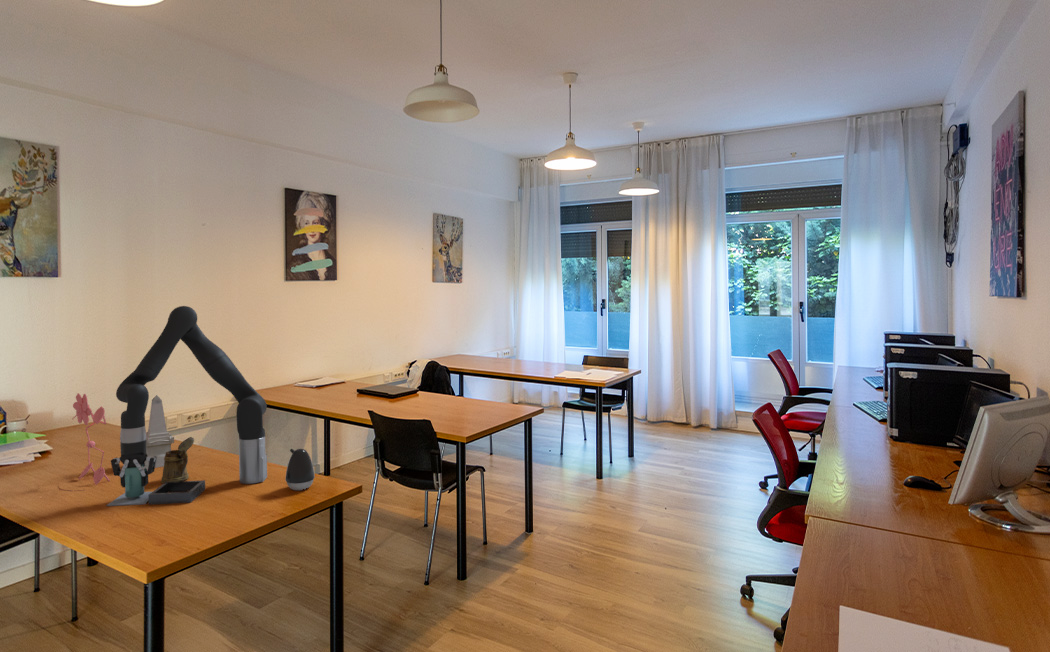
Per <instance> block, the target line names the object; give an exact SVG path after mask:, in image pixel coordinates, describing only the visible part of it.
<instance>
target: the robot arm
mask: <svg viewBox="0 0 1050 652" xmlns="http://www.w3.org/2000/svg"><path fill="white" fill-rule="evenodd" d="M180 340H181V341H182V342H183V343H184V344H185V345H186V347H187V348H188V349H189V350H190V351H191V352H192V355H193V357H195V359H196V360H197V361H198V362H199V364H200V365H201V367H202V368H203V370H205V372H206V373H207V374H208V375H209V376H210V378H211V379H212V380H213V381H215V382H216V383H217V384H219V385H220V386H221V387H223V388H224V389H225V390H227V391H228V392H229V393H230V394H231V395H232V396H233V398H235V400H236V401H237V402H238V404H237V406H236V430H237V434H238V459H239V462H238V463H239V469H238V470H239V472H238V473H239V476H238V477H239V483H240V484H242V485H243V484H244V485H245V484H246V485H250V484H251V485H252V484H258V483H263V482H264V481H265V480H266V479H267V478H268V455H267V453H266V430H265V428H264V424H263V423H264V422H263V415H264V414H265V413H266V412H267V407H268V404H267V402H266V400H265V398H264V397H263V396H262V395H261V394H260V393H259V392H258V391H256V389H255V388H254V387H253V386H252V385H251V384H250V383H249V382H248V381H247V380H246V379H245V377H244V376H243V374H242V373H241V372H240V370H239V368H237V366H236V364H234V362H233V360H232V359H231V358H230V357H229V356H228V355H227V353H226V352H225V351H224V350H223V349H222V348H220V347H219V346H218V345H217V344H216V343H214V342H212V341H211V340H210V339H209V338H208V337H207V336H206V335H205V334H204V332H203V331H202V330H201V328H200V327H199V325H198V314H197V312H196V311H195V309H193V308H192V307H190V306H188V305H181V306H177V307H175V308H174V309H172V310H171V312H170V313H169V316H168V318H167V321H166V325H165V327H163V330H162V332H161V333H160V335H159V336H158V338H157V339H156V340H155V342H154V343H153V345H151V347H150V348H149V350H148V352H146V354H145V355H144V357H143V358H142V359H141V361H140V362H139V364H138V365H137V366H136V368H135V369H134V371H132V372H131V373H130V374H128V376H127V377H125V379H123V381H122V382H121V383H120V384H119V385H118V386H117V389H116V393H115V396H116V399H117V400H118V401H119V402H121V403H127V405H126V409H125V410H124V411H122V412H121V415H120V433H119V434H120V435H119V440H120V456H119V457H114V458H112V459H110V464H111V469H112V473H113V476H118V477H120V478H119V479H120V486H121V487H122V488H125V468H136V467H137V468H139V471H140V473H141V475H142V477H141V479H142V487H143V486H144V487H145V486H147V485H148V484H149V475H151V474H153V473H154V472H155V469H156V468H155V464H156V458H157V457H156V456H153V457H150V456H148V455H147V454H146V450H147V449H146V432H147V430H146V416H145V414H146V411H147V408H148V404H149V397H150V395H149V390H148V388H147V386H145V385H147V383H150V382H153V381H155V380H156V378H157V377H158V375H159V374H160V373H161V371H162V370H163V368H164V366H165V365H166V363H167V362H168V360H169V358H171V357H170V356H171V355H172V353H173V351H174V349H175V348H176V346H177V345H178V343H179V342H180ZM146 460H148V463H149V466H148V469H147V466H146V464H145V461H146ZM120 463H122V464H123V465H122V468H121V467H120V466H121V465H120ZM142 465H144V467H142Z"/></svg>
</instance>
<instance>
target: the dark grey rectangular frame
mask: <svg viewBox="0 0 1050 652" xmlns="http://www.w3.org/2000/svg"><path fill="white" fill-rule="evenodd" d="M205 490H206V480H205V479H204V480H203V479H202V480H185V481H179V482H165V483H162V484H161V485H160V486H158V487H157V488H156V489H153V491H151V492H152V493H150V494H149V495H148V497H149V502H148V505H153V506H154V505H167V504H171V505H172V504H187V503H189V504H190V503H192V502H194V501H195V499H197V498H198V497H199V496H200V495H201V494H202V493H203V492H204V491H205Z"/></svg>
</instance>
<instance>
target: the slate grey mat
mask: <svg viewBox="0 0 1050 652" xmlns="http://www.w3.org/2000/svg"><path fill="white" fill-rule="evenodd" d="M152 492H153V491H144V494H143V495H140V496H136V497H126V496H125V492H124V493H123V494H120V495H119V496H117V497H116V498H115V499H113V500H111V502H109V503H107V504H106V507H115V506H116V507H118V506H134V505H135V506H137V505H146V504H149V497H148V495H149V494H150V493H152Z"/></svg>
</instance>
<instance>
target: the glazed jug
mask: <svg viewBox="0 0 1050 652" xmlns="http://www.w3.org/2000/svg"><path fill="white" fill-rule="evenodd" d="M142 467H144V465H142ZM141 477H142V475H141V473H140V471H139V468H137V467H136V468H125V487H124V493H125V496H126V497H136V496H140V495H143V494H144V492H145V486H143V487H142V479H141Z"/></svg>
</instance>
